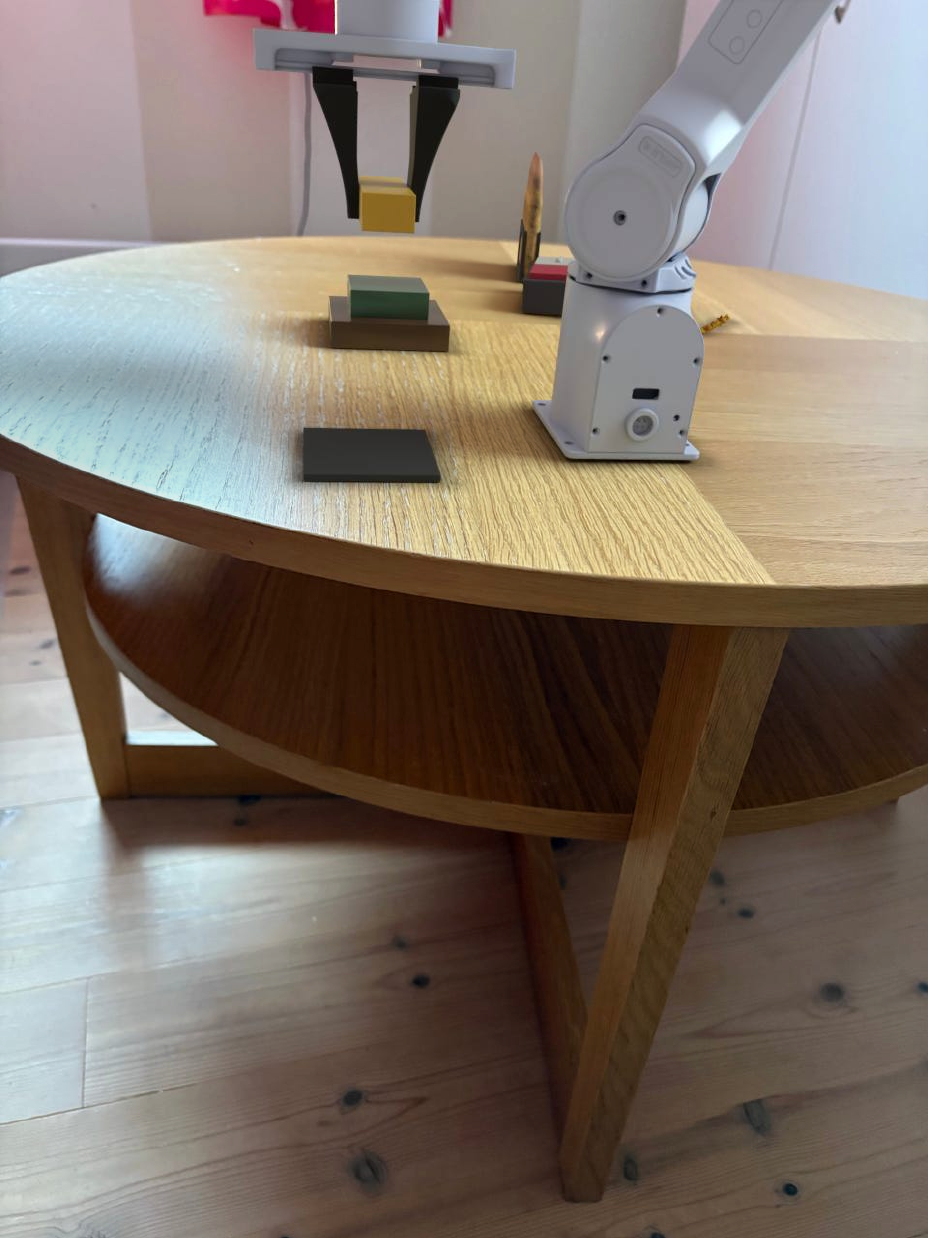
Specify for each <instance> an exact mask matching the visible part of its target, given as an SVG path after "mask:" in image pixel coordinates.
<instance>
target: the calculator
mask: <svg viewBox="0 0 928 1238" xmlns="http://www.w3.org/2000/svg"><path fill="white" fill-rule="evenodd" d="M575 260H576V259H575V258H574V257H567V256H566V257H565V256H543V255H542V256H541V255H539V257H538V258H537V260H536V261H535V262H533V264H532V266H531V267H530V269H529V271H528V273H527V274H526V276H525V278H524V280H523V283H522V291H521V296H522V297H521V312H522V313H524V314H536V315H537V314H538V315H554V316H555V315H556V316H557V315H558V316H562V312H563V303H564V295H565V287H566V279H567V274H568V271H567V270H568V264H569V263H570V262H572V261H575Z"/></svg>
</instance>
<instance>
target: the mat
mask: <svg viewBox="0 0 928 1238" xmlns="http://www.w3.org/2000/svg"><path fill="white" fill-rule="evenodd" d="M302 432H303V434H302V436H303V438H302V439H303V440H302V441H303V442H302V443H303V446H302V447H303V449H302V453H303V454H302V457H303V458H302V461H303V462H302V474H303V475H302V480H303V482H372V483H373V482H382V483H383V482H385V483H387V482H388V483H389V482H390V483H392V482H393V483H394V482H395V483H397V482H399V483H441V477H442V476H441V473H440V469H439V466H438V464H437V460H436V458H435V454H434V452H433V448H432V446H431V443H430V439H429V436H428V434H427V430H426V429H424V428H423V429H422V428H421V429H420V428H419V429H417V428H416V429H415V428H365V427H363V428H362V427H361V428H359V427H358V428H357V427H356V428H355V427H354V428H353V427H303V431H302Z"/></svg>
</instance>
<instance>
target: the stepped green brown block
mask: <svg viewBox="0 0 928 1238" xmlns="http://www.w3.org/2000/svg"><path fill="white" fill-rule="evenodd" d="M346 279H347V280H346V281H347V282H346V283H347V284H346V289H347V290H346V295H345V296H344V295H328V297H327V298H328V299H327V300H328V304H327V305H328V311H327V312H328V329H329V340H330V348H331V349H349V350H350V349H353V350H382V351H383V350H387V351H417V352H449V351H450V350H449V349H450V337H451V336H450V335H451V325H450V323H449V321H448V319H447V318H446V316H445V314H444V313H443V311H442V309H441V308H440V307H441V306H440V305H439V304H438V302H437V300H436V299H430V297H431V295H430V294H431V293H430V291H429V290H428V288H427V286H426V284H425V283H424V281H423V279H422V277H416V276H415V277H412V276H411V277H410V276H389V275H368V274H347V275H346Z"/></svg>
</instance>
